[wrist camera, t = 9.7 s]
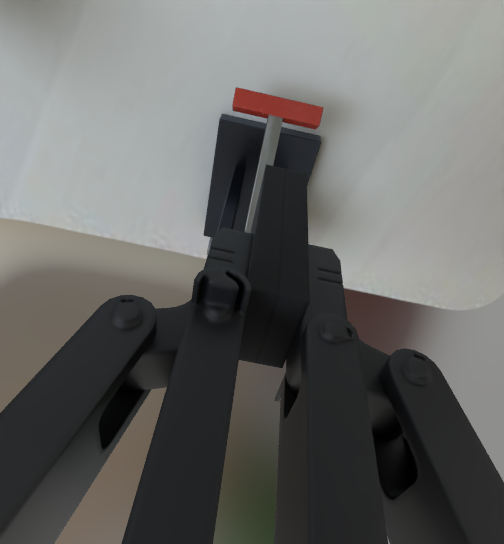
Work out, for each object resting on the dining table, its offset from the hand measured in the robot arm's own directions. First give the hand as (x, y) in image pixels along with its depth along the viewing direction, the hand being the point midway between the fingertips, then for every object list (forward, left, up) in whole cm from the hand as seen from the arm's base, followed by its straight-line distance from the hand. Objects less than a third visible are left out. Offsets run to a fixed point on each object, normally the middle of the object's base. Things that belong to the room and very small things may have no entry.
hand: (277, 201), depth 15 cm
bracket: (+4, +11, -22) cm, 25 cm away
